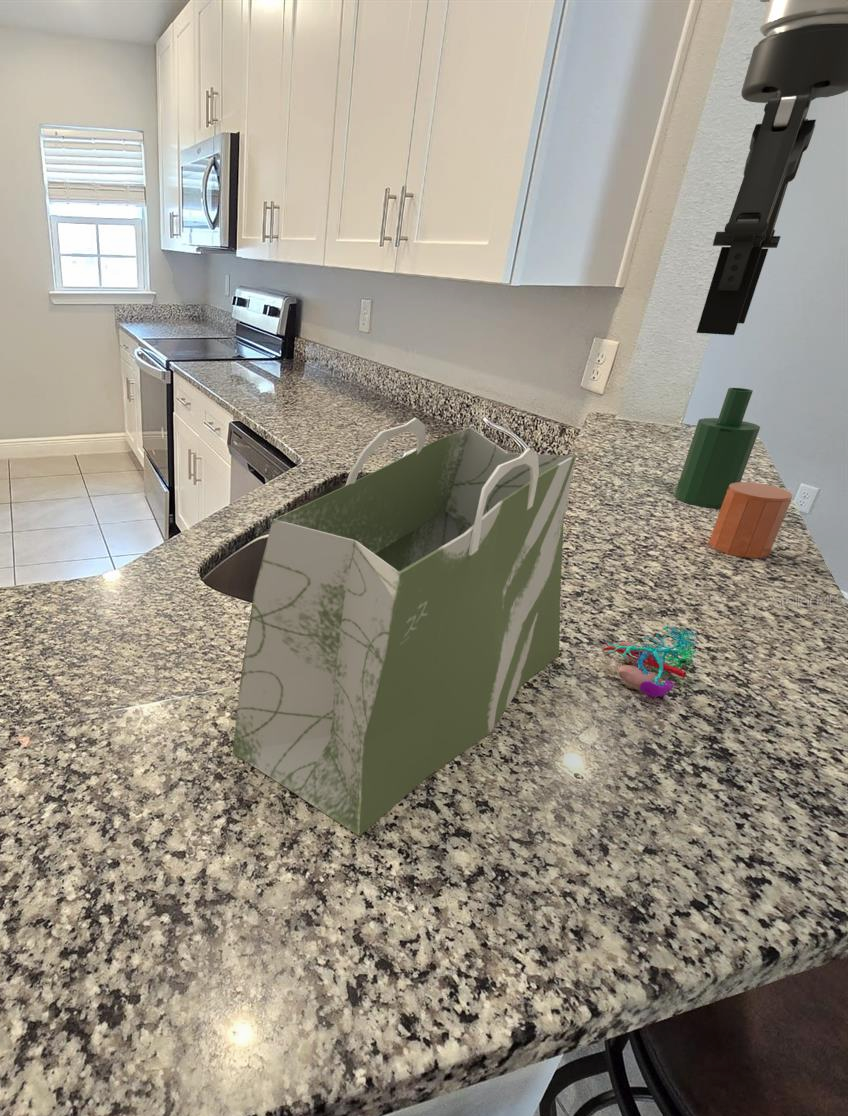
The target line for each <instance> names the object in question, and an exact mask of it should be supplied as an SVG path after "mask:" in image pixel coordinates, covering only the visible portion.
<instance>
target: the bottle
mask: <svg viewBox="0 0 848 1116" xmlns="http://www.w3.org/2000/svg"><path fill="white" fill-rule="evenodd" d="M752 395H753V389H749V388H744V387H729V388H728V389H727V391H726V395H725V396H724V401H723V403H722V407H721V410H720V412H719V415H718V417H704V418H700V419H699V420H698V421H697V424H696V427H695V430H694V433H693V437H692V439H691V443H690V445H689V449H688V452H687V455H686V459H685V462H684V464H683V468H682V471H681V474H680V477H679V480H678V484H677V485H676V486H677V487H676V489H675V493H674V497H675V498H676V499H677V500H678V501H681V502H683V503H685V504H689V505H692V506H696V507H703V508H711V509H721V506H722V504H723V501H724V498H725V495H726V492H727V490H728V487H729V485H730V484H731V483H736V482H742V479H743V476H744V473H745V470H746V468H747V465H748V462H749V459H750V456H751V454H752V452H753V448H754V446H755V443H756V441H757V438H758V435H759V432H760V430H761V426H760V425H758V424H755V423H753V422H749V421H745V420H744V418H745V415H746V412H747V408H748V406H749V403H750V401H751V397H752Z"/></svg>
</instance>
